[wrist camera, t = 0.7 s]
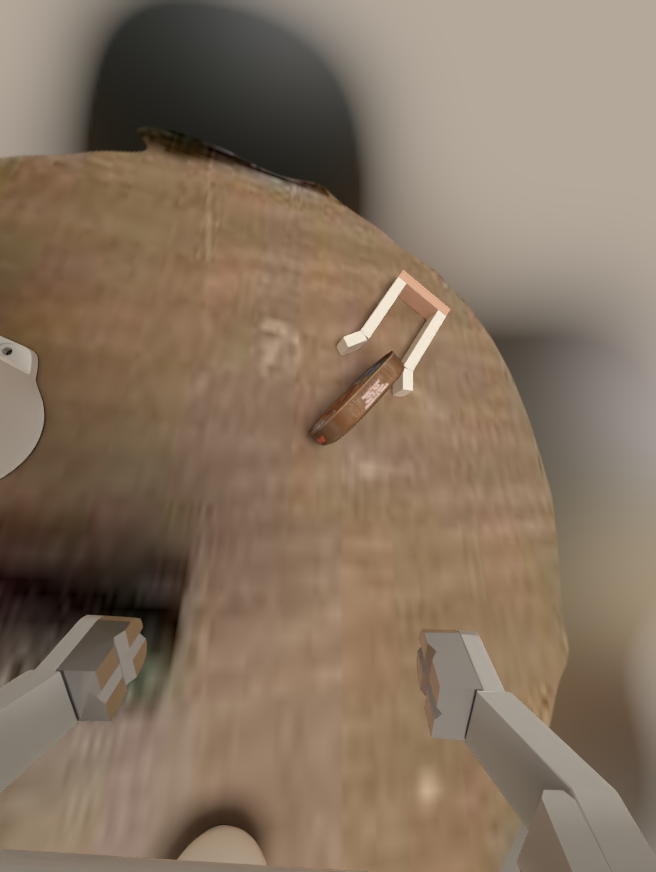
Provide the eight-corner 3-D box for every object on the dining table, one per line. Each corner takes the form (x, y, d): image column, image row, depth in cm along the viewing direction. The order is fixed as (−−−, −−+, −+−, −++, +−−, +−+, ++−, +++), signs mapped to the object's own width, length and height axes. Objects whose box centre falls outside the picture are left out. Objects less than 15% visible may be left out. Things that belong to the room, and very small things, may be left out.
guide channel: (333, 350, 45) (340, 341, 42) (386, 276, 50) (395, 263, 47) (399, 400, 47) (410, 394, 44) (444, 324, 51) (457, 315, 48)
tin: (372, 363, 47) (401, 337, 39) (387, 379, 47) (419, 356, 39) (301, 436, 42) (317, 424, 34) (318, 453, 42) (338, 445, 34)
